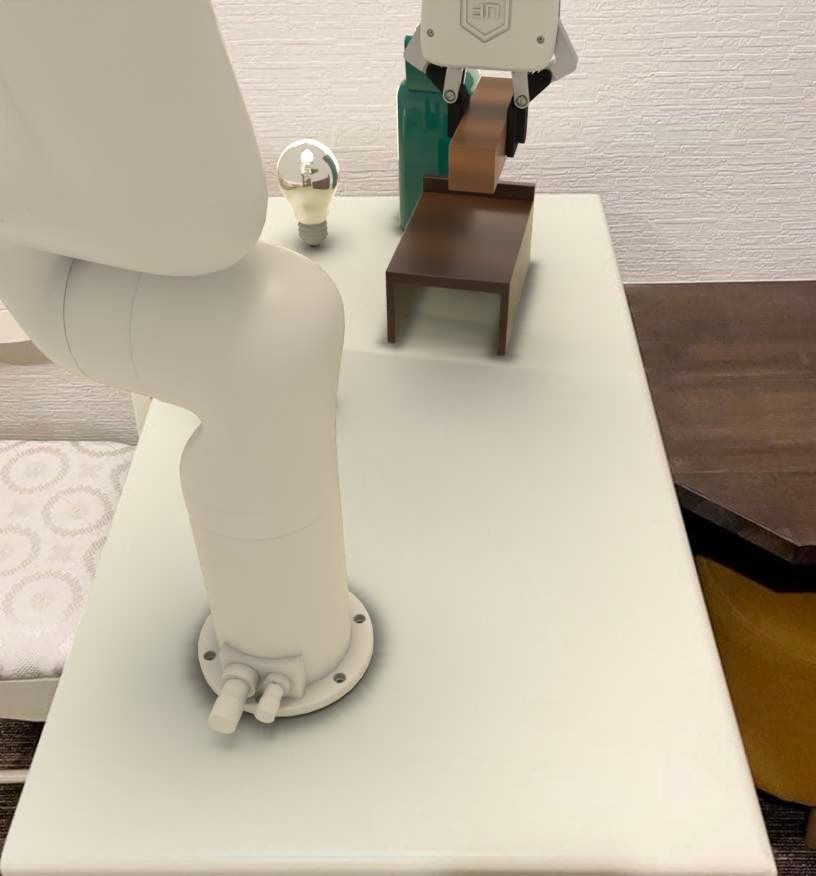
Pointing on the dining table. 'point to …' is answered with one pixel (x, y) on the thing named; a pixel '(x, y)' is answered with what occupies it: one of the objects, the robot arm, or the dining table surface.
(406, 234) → the shelf
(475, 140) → the brown wooden bar
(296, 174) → the light bulb
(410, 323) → the dining table surface
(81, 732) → the dining table surface
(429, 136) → the green glass bottle
